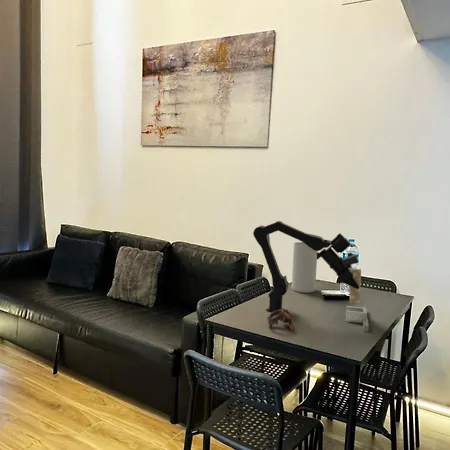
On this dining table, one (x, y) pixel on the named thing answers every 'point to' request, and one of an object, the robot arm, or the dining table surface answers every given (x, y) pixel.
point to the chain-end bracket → (357, 316)
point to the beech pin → (353, 291)
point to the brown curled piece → (280, 318)
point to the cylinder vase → (304, 268)
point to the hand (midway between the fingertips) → (358, 287)
